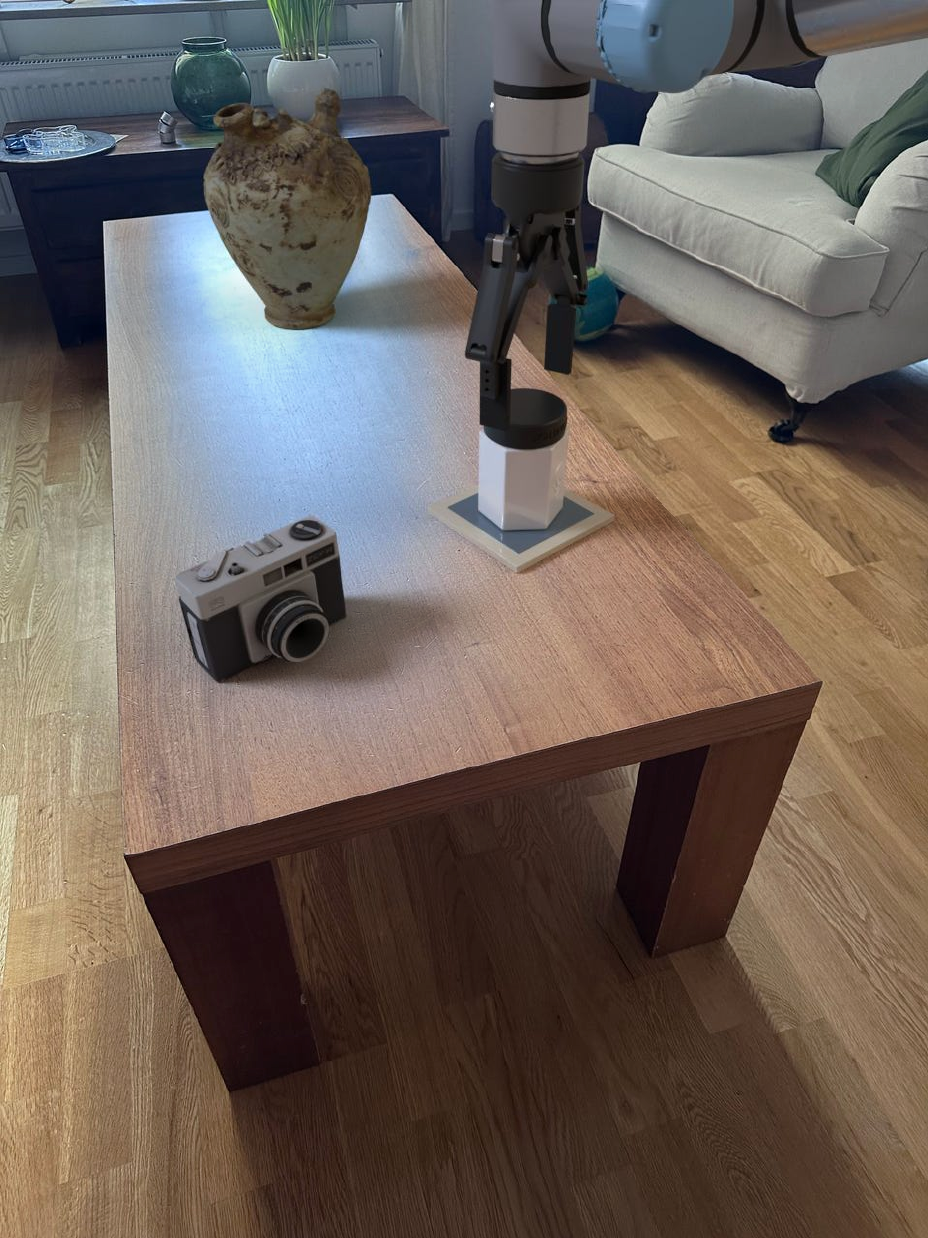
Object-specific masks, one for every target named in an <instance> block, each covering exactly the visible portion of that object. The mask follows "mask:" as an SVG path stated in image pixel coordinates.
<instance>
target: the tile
mask: <svg viewBox="0 0 928 1238" xmlns="http://www.w3.org/2000/svg"><path fill="white" fill-rule="evenodd" d="M478 484H479V483H477V484H475V485H472V486H471V487H468V488H466V489H464V490H462V491H459V492H457V493H455V494H452V495H450V496H449V497H447V498H444V499H442V500H440V501H437V502H435V503H433V504H431V505H429V506H427V514H428V515H430V516H431V517H433V519H434V518H435V519H436V520H437V521H439V522H440V523H442V524H443V525H445V526H446V527H448V528H449V529H451V530H452V531H454V532H455V533H456V534H459V536H461V537H463V538H464V539H465V540H467V541H469V542H470V543H471V544H473V545H474V546H476V547H477V548H479V549H480V550H481V551H482V552H484V553H486V554H487V555H489V556H490V557H492V558H493V559H495V560H496V561H498V562H500V563H501V564H502V565H504V566H505V567H507V568H508V569H510V570H512V571H513V572H515V573H516V574H519V573H520V572H523V571H524V570H526V569H528V568H530V567H532V566H533V565H536V564H537V563H539V562H541V561H543V560H545V559H546V558H548V557H551V556H552V555H554V554H556V553H557V552H559V551H561V550H563V549H565V548H567V547H569V546H571V545H572V544H574V543H576V542H578V541H580V540H582V539H584V538H585V537H587V536H589V535H591V534H593V533H594V532H597V531H598V530H600V529H602V528H604V527H606V526H608V525H609V524H611V523H614V521H615V515H614V514H613V513H611V512H609V511H608V510H606V509H604V508H602V507H601V506H599V505H597V504H595V503H594V502H592V501H590V500H588V499H586V498H584V497H583V496H581V495H579V494H577V493H576V492H574V491H572V490H571V489H569V488H567V487H565V486H564V496H563V507H562V509H561V510H560V511H559V513H558V514H557V515H556V517H555V518H554V519H553V521H552V522H551V523H550V525H549V526H548V527H547V528H546V529H538V530H508V531H503V530H502V529H500V528H499V527H498V526H497V525H495V524H494V523H493V522H492V521H491V520H489V519H488V518H487V517H486V516H485V515H483V514H482V513H481V512H480V511H479V510H478Z"/></svg>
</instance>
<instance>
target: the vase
mask: <svg viewBox="0 0 928 1238" xmlns="http://www.w3.org/2000/svg"><path fill="white" fill-rule="evenodd" d="M314 109H315V110H314V113H313V114H312V116H311V117H310V119H309V120H304V119H303V120H302V119H301V120H300V119H298V118H296V117H295V116H294V117H292V116H290V114H289V113H288V112H287V111H286V110H285V109H283V108H280V109H279V111H278V112H277V113H276V114H275V116H274V117H273V118H271V117H270V115H269V114H268V111H267V110H266V109H265V108H264V109H263V108H254V106H253V105H251V104H250V103H247V102H238V103H232V104H228V105H227V106H225V107H222V108H220V109H219V110H218V111H216V113H215V114H214V116H213V118H212V119H213V124H214V125H215V126H216V127H218V128H219V129H221V130H222V131H223V132H224V135H223V140H222V141H221V142H220V141H219V142H217V143H216V144H215V146H214V151H215V152H213V153H212V155H211V157H210V160H209V161H208V164H207V166H206V167H205V171H204V174H203V177H202V178H203V180H204V181H203V196H204V202H205V204H206V206H207V209H208V212H209V215H210V218H211V220H212V223H213V225H214V227H215V229H216V231H217V233H218V235H219V237H220V240H221V242H222V243H223V246H224V247H225V249H226V251H227V252H228V254H229V256H230V258H231V259H232V260H233V262H234V264H235V265H236V267H237V268H238V270H239V271H240V272H241V274H242V276H243V277H244V278H245V280H246V281H247V283H248V284H249V286H251V288H252V289H253V290H254V292H255V293H256V294H257V296H258V298H259V299H260V300H261V302H262V303H263V304H264V306H265V307H264V309H263V313H264V319H265V320H266V321H267V322H268V323H269V324H270V325H272V326H274V327H277V328H282V329H289V330H304V329H311V328H315V327H319V326H323V325H325V324H327V323H328V322H330V321H331V320H333V319H334V317H335V315H336V307H335V301H336V298H337V297H338V295H339V293H340V291H341V289H342V287H343V285H344V283H345V281H346V279H347V277H348V275H349V273H350V271H351V269H352V267H353V264H354V262H355V260H356V257H357V255H358V252H359V250H360V247H361V246H360V245H361V241H362V239H363V235H364V233H365V228H366V224H367V220H368V215H369V210H370V205H371V203H372V201H371V200H372V186H371V178H370V173H369V169H368V168H369V167H368V166H367V165H365V164H364V162H363V160H362V158H361V156H360V155H359V153H358V152H357V151H356V150H355V148H353V147H352V145H351V143H350V142H349V138H345V136H342V135H341V134H340V131H339V129H338V123H337V120H338V117H339V115H340V113H341V111H342V103H341V99H340V96H339V94H338V92H337V91H336V90H334V89H331V88H327V87H325V88H322V89H320V90H319V92H318V93H317V94H316V95H315V98H314Z"/></svg>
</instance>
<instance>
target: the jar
mask: <svg viewBox="0 0 928 1238" xmlns="http://www.w3.org/2000/svg"><path fill="white" fill-rule="evenodd" d="M567 425H568V406H567V404H566V402H565V401H564V399H562V398H561V397H560V396H558V395H557V394H555V393H553V392H550V391H546V390H543V389H538V388H530V387H516V388H511V400H510V428H509V429H508V430H507V431H502V430H499V429H495V428H491V427H487V426H483V427H482V429H481V430H480V431H479V432H478V483H477V484H478V510H479V511H480V512H481V513H482V514H483V515H485V516H486V517H487V518H488V519H489V520H491V521H492V522H493V523H494V524H495V525H497V526H498V527H499V528H500V529H502V530H503V531H508V530H538V529H546V528H547V527H548V526H549V525H550V523H551V522H552V521H553V519H554V518H555V517H556V515H557V514H558V513H559V511H560V510H561V509H562V507H563V496H564V487H565V483H566V473H567V462H568V461H567V459H568V450H569V439H570V429H569V428H568V427H567Z"/></svg>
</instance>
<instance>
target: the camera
mask: <svg viewBox="0 0 928 1238" xmlns="http://www.w3.org/2000/svg"><path fill="white" fill-rule="evenodd" d="M262 536H263V538H261V539H259V540H257V541H254V542H250V541H245V542H244V543H243V545H239V546H238V547H234V546H233V547H232V546H231V547H229V548H227V549H223V550H220V551H218V552H216V553H215V554H214V555H213V556H212V557H211V558H210V559H209V560H206V561H204V562H202V563H200V564H197V565H195V566H192V567H190V568H188V569H185V570H183V571H181V572H179V573H178V574H177V575H176V576H175V577H174V579H175V582H176V583H175V584H176V586H177V590H178V593H179V596H178V603H179V605H180V610H181V614H182V617H183V621H184V624H185V629H186V631H187V636H188V639H189V642H190V646H191V650H192V653H193V657H194V659H195V660H196V663H197V664H199V666H200V667H201V668H202V669H203V670H204V671H205V672H206V673H207V674H208V675H209V676H210V677H211V678H212V679H213V680H214V681H215V682H216V683H218V684H219V683H222V682H224V681H226V680H228V679H230V678H232V677H234V676H236V675H238V674H240V673H242V672H243V671H245V670H247V669H250V668H251V667H253V666H255V665H257V664H259V663H261V662H263V661H265V660H268V659H269V658H271V657H273V656H276V657H277V658H280V659H283V660H284V661H286V662H288V663H301V662H304V661H308V660H309V659H311V658H312V657H314V656H316V654H317V653H318V652H320V650H321V649H322V648H323V647H324V646H325V644H326V642H327V639H328V637H329V633H330V627H331V626H332V625H334V624H336V623H339V621H342V620H343V619H346V618H347V611H346V602H345V601H346V599H345V593H344V584H343V578H342V577H343V576H342V567H341V556H340V551H339V550H340V549H339V544H338V543H339V542H338V536H337V532H336V531H335V530H334V529H333V528H331V527H330V526H328V525H327V524H326V523H324V522H323V521H321V520H320V519H319V518H317V517H316V516H315V515H308V516H306V517H303V518H301V519H299V520H297V521H294V522H292V523H289V524H287V525H285V526H282V527H280V528H279V529H277V530H276V529H275V530H274V531H271V532H269V533H267V532H266V533H264V534H262Z"/></svg>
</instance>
